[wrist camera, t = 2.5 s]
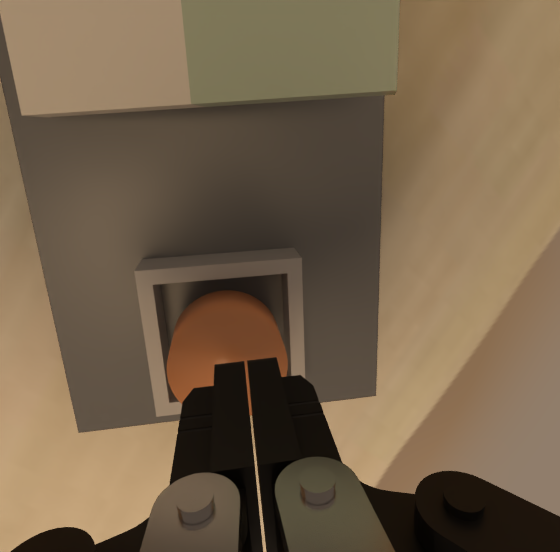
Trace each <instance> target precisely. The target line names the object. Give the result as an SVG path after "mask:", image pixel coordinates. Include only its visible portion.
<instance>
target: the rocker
mask: <svg viewBox="0 0 560 552" xmlns="http://www.w3.org/2000/svg"><path fill="white" fill-rule="evenodd" d="M399 15H400V0H0V16H1V20H2V25H3V30H4V34H5V39H6V44H7V49H8V53H9V58H10V63H11V68H12V72H13V77H14V82H15V86H16V91H17V96H18V101H19V105H20V110H21V115H22V116H35V117H60V116H75V115H90V114H106V113H121V112H136V111H151V110H167V109H182V108H197V107H213V106H228V105H243V104H258V103H274V102H289V101H304V100H319V99H335V98H350V97H365V96H381V95H395V93H396V91H397V71H398V43H399Z"/></svg>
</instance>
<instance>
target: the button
mask: <svg viewBox="0 0 560 552" xmlns="http://www.w3.org/2000/svg"><path fill="white" fill-rule="evenodd" d="M273 357H276V358H277V361H278V365H279V369H280V373H281V377H286V376H287V370H288V359H287V353H286V349H285V346H284V343H283V341H282V338H281V335H280V332H279V329H278V326H277V323H276V321H275V318H274V316H273V315H272V313H271V311H270V310H269V309H268V308H267V306H265V305H264V304H263V303H262V302H261V301H260V300H258V299H257V298H255V297H253V296H251V295H249V294H246V293H243V292H239V291H232V290H222V291H216V292H212V293H208V294H206V295H204V296H201V297H200V298H198V299H196V300H195V301H193V302H192V303H191V304H190V305H188V306H187V307H186V308H185V310H184V311H183V312H182V314H181V315H180V317H179V318H178V320H177V323H176V325H175V329H174V333H173V337H172V342H171V346H170V351H169V355H168V360H167V378H168V383H169V385H170V388H171V390H172V392H173V394H174V395H175V397H176V398H177V399H178V401H179V402H180V403H181V404H182V402H183V401H184V400H185V398H186V397H187V396H188V395H189V393H190V392H191V391H192V389H193V388H198V387H206V386H214V365H215V364H223V363H231V362H240V361H244V363H245V373H246V383H247V393H248V403H249V414H250V415H252V408H251V397H250V387H249V376H248V366H247V360H256V359H264V358H273Z"/></svg>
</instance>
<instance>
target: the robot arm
mask: <svg viewBox="0 0 560 552" xmlns="http://www.w3.org/2000/svg"><path fill="white" fill-rule="evenodd" d="M247 366H248V376H249V387H250V397H251V408H252V418H253V428H254V438H255V448H256V457H257V466H258V476H259V485H260V494H261V504H262V513H263V523H264V532H265V541H266V551H267V552H560V517H559V516H557V515H555V514H553V513H551V512H549V511H547V510H545V509H543V508H541V507H539V506H537V505H535V504H532V503H530V502H528V501H526V500H524V499H522V498H520V497H518V496H516V495H514V494H512V493H510V492H508V491H505V490H504V489H501V488H499V487H497V486H495V485H493V484H491V483H489V482H487V481H485V480H483V479H481V478H478V477H476V476H474V475H470V474H467V473H462V472H457V471H442V472H437V473H434V474H431V475H429V476H427V477H425V478H424V479H423V480H422V481H421V482H420V483H419V485H418V486H417V489H416V492H415V494H409V493H401V492H391V491H386V490H380V489H377V488H373V487H371V486H368V485H366V484H364V483H362V482H361V481H359V479H358V478H357V476H356V475H355V473H354V472H353V471H352V470H351V469H350V468H349V467H348V466H346V465H345V464H343V463H342V461H341V458H340V455H339V453H338V450H337V447H336V445H335V442H334V439H333V437H332V434H331V431H330V429H329V426H328V423H327V421H326V418H325V415H324V414H323V410H322V407H321V404H320V402H319V399H318V396H317V394H316V391H315V388H314V386H313V385H312V384H311V383H310V382H309V381H307V380H306V379H305V378H304V377H303V376H301V375H295V376H287V377H281V373H280V369H279V365H278V361H277V358H276V357H273V358H264V359H256V360H247ZM11 552H263V547H262V536H261V526H260V516H259V506H258V495H257V485H256V475H255V465H254V454H253V444H252V434H251V424H250V414H249V403H248V393H247V383H246V373H245V363H244V361H240V362H231V363H223V364H215V365H214V386H206V387H198V388H193V389H192V391H191V392H190V393H189V395H188V396H187V397H186V398H185V400H184V401H183V402H182V409H181V415H180V421H179V428H178V434H177V441H176V447H175V453H174V460H173V466H172V473H171V479H170V485H169V486H168V487H167V488H166V489H165V490H164V491H162V493H161V494H160V495H159V496H158V498H157V499H156V501H155V503H154V505H153V507H152V510H151V514H150V517H149V518H148V519H146V520H145V521H144V522H142V523H141V524H139V525H138V526H136V527H134V528H132V529H130V530H128V531H126V532H124V533H122V534H119V535H117V536H115V537H112V538H110V539H108V540H105V541H103V542H101V543H98V544H96V545H95V544H94V541H93V539H92V537H91V536H90V535H89V534H88V533H87V532H85V531H83V530H81V529H78V528H74V527H62V528H56V529H52V530H48V531H45V532H43V533H40V534H38V535H36V536H34V537H32V538H30V539H28V540H26V541H25V542H23V543H22V544H20V545H19V546H17V547H16V548H15V549H13V550H12V551H11Z"/></svg>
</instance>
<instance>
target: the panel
mask: <svg viewBox="0 0 560 552" xmlns="http://www.w3.org/2000/svg"><path fill="white" fill-rule="evenodd" d="M0 78H1V82H2V87H3V91H4V96H5V100H6V105H7V109H8V114H9V118H10V123H11V128H12V132H13V137H14V141H15V146H16V150H17V155H18V159H19V164H20V168H21V173H22V178H23V182H24V187H25V191H26V196H27V200H28V205H29V209H30V214H31V218H32V223H33V228H34V232H35V237H36V241H37V246H38V250H39V255H40V259H41V264H42V269H43V273H44V278H45V282H46V287H47V291H48V296H49V300H50V305H51V309H52V314H53V319H54V323H55V328H56V332H57V337H58V341H59V346H60V350H61V355H62V359H63V364H64V369H65V373H66V378H67V382H68V387H69V391H70V396H71V400H72V405H73V409H74V414H75V419H76V423H77V428H78V432H79V433H81V432H89V431H97V430H105V429H113V428H121V427H129V426H137V425H145V424H153V423H161V422H169V421H177V420H180V415H181V409H182V404H181V403H180V402H179V401H178V399H177V398H176V397H175V395H174V394H173V392H172V390H171V388H170V385H169V383H168V378H167V360H168V355H169V351H170V346H171V342H172V337H173V333H174V329H175V325H176V323H177V320H178V318H179V317H180V315H181V314H182V312H183V311H184V310H185V308H186V307H187V306H188V305H190V304H191V303H192V302H193V301H195V300H196V299H198V298H200V297H201V296H204V295H206V294H208V293H212V292H216V291H222V290H232V291H239V292H243V293H246V294H249V295H251V296H253V297H255V298H257V299H258V300H260V301H261V302H262V303H263V304H264V305H265V306H267V308H268V309H269V310H270V311H271V313H272V315H273V316H274V318H275V321H276V323H277V326H278V329H279V332H280V335H281V338H282V341H283V343H284V346H285V349H286V353H287V359H288V370H287V376H295V375H301V376H303V377H304V378H305V379H306V380H307V381H309V382H310V383H311V384H312V385H313V386H314V388H315V391H316V394H317V396H318V399H319V402H320V403H322V402H330V401H338V400H346V399H354V398H362V397H370V396H376V376H377V341H378V305H379V269H380V234H381V198H382V163H383V127H384V95H381V96H365V97H350V98H335V99H319V100H304V101H289V102H274V103H258V104H243V105H228V106H213V107H197V108H182V109H167V110H151V111H136V112H121V113H106V114H90V115H75V116H60V117H35V116H22V115H21V110H20V105H19V101H18V96H17V91H16V86H15V82H14V77H13V72H12V68H11V63H10V58H9V53H8V49H7V44H6V39H5V34H4V30H3V25H2V20H1V16H0ZM287 376H286V377H287Z"/></svg>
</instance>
